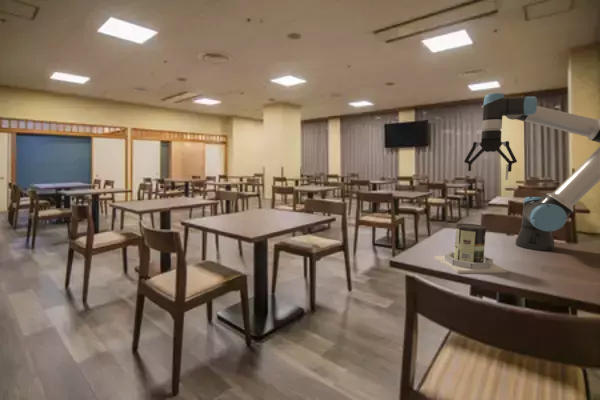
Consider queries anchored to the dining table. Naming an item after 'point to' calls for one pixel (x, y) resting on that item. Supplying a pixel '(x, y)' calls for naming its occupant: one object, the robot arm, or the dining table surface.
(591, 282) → the dining table surface
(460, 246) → the coffee can
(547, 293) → the dining table surface
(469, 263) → the can holder
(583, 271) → the dining table surface
